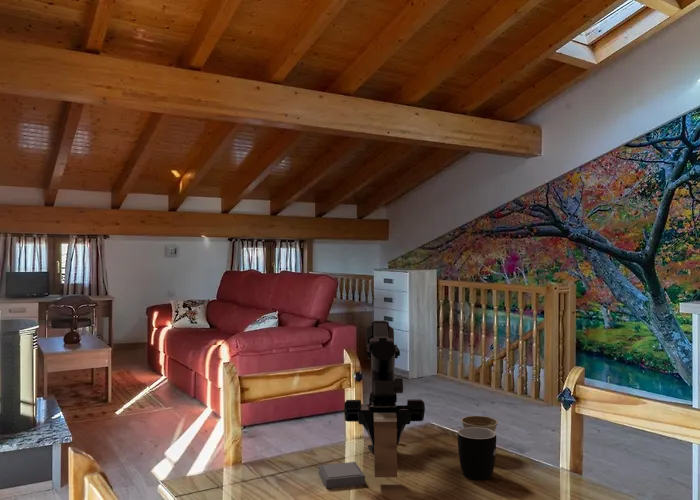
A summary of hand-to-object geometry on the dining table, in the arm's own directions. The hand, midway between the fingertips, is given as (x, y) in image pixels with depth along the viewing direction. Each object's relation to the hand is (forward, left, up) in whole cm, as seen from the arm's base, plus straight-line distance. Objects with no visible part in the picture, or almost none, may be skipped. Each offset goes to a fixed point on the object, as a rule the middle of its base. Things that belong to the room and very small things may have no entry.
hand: (385, 444), depth 129 cm
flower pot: (-14, +30, -10) cm, 35 cm away
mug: (-2, +23, -10) cm, 26 cm away
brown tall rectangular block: (-1, 0, -7) cm, 7 cm away
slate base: (-7, -9, -10) cm, 15 cm away
